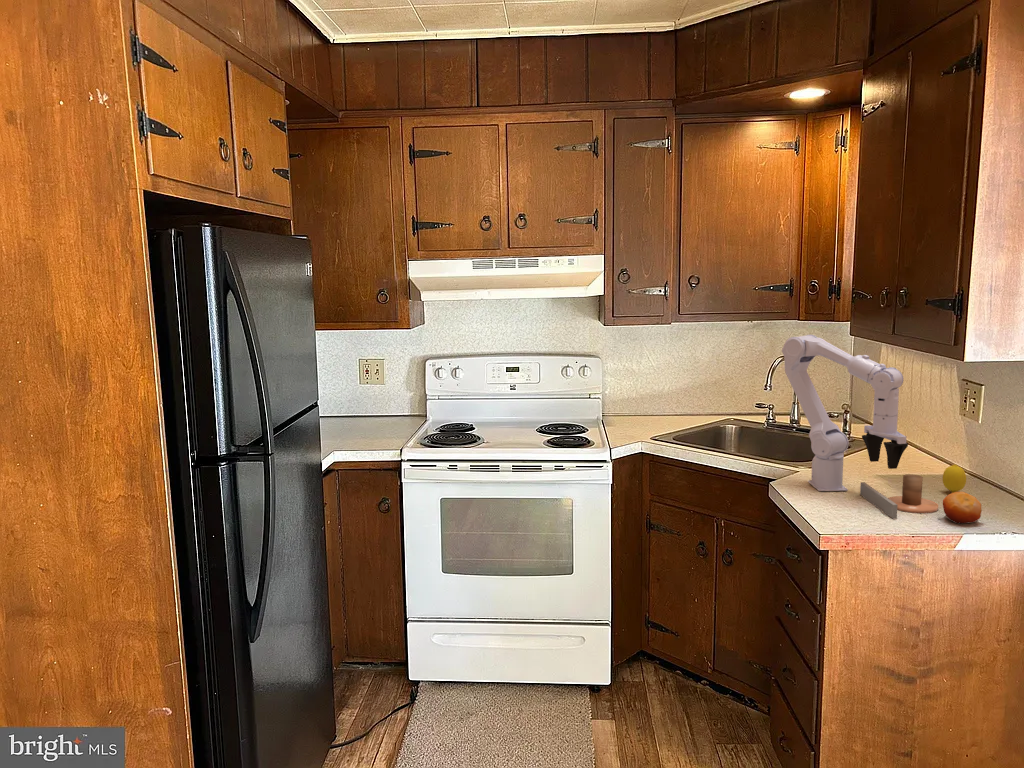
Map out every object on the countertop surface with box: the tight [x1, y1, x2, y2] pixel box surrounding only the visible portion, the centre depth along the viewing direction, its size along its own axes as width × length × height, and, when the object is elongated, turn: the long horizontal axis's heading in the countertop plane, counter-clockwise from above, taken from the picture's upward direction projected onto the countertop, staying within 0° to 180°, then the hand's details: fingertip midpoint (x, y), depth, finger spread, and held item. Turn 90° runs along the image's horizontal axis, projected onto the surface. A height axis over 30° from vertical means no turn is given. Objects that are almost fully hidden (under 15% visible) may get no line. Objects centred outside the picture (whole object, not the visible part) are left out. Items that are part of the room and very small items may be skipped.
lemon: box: [942, 463, 967, 493], centre depth 199 cm, size 6×6×8 cm
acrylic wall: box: [859, 481, 898, 520], centre depth 190 cm, size 20×1×4 cm, turn 176°
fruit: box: [942, 491, 983, 525], centre depth 178 cm, size 8×8×8 cm
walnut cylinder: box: [901, 473, 924, 506], centre depth 189 cm, size 4×4×7 cm
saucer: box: [887, 495, 939, 514], centre depth 190 cm, size 12×12×1 cm
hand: (883, 464), depth 195 cm, fingers open, 7 cm apart
